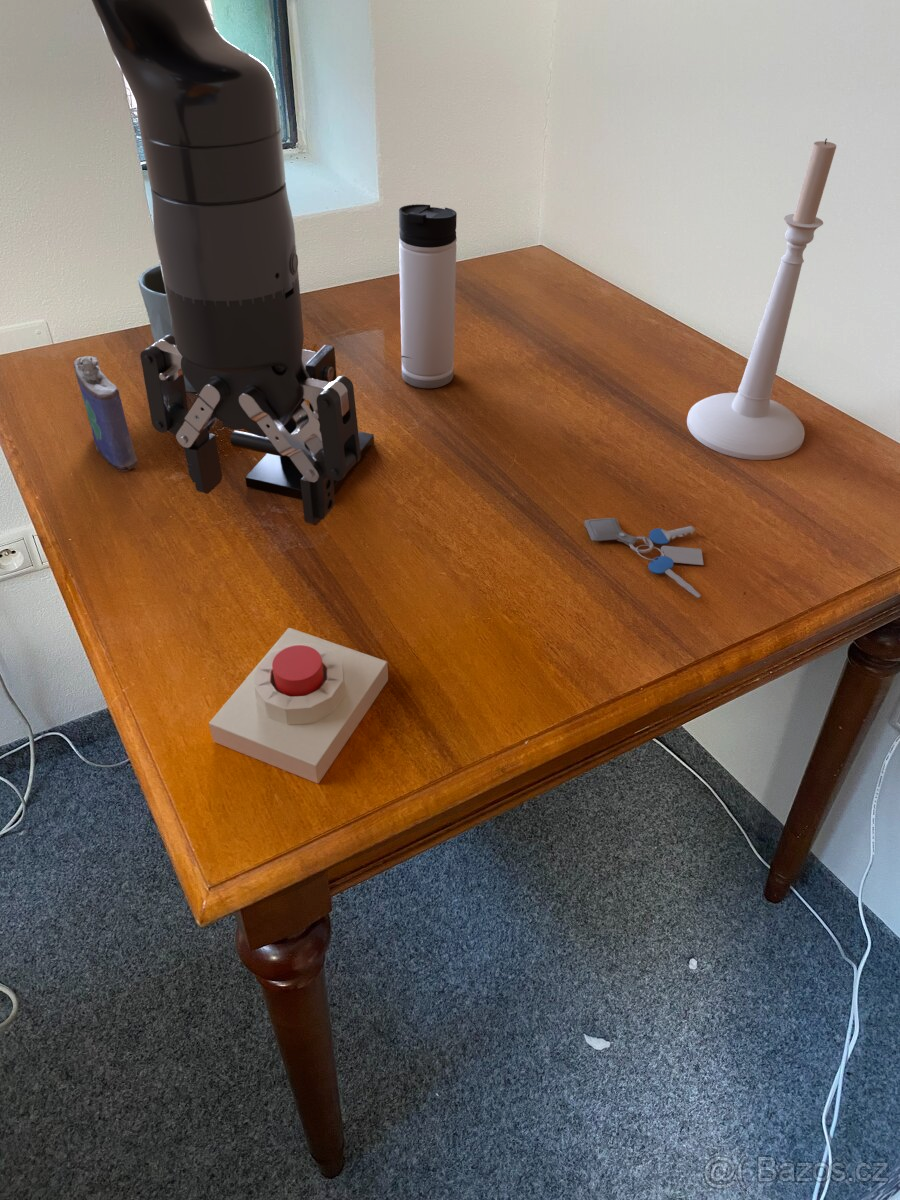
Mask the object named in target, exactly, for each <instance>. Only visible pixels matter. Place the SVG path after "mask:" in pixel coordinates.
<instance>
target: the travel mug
mask: <svg viewBox="0 0 900 1200" xmlns="http://www.w3.org/2000/svg"><path fill="white" fill-rule="evenodd" d="M457 217H458V216H457V211H456V210H454V209H452V208H448V207H444V208H441V207H436V206H435V207H433V206H431V204H423V203H422V204H417V203H415V204H407V205H403V206H401V207H399V209H398V228H399V234H398V242H399V244H398V259H399V261H398V262H399V263H398V264H399V301H400V302H399V303H400V304H399V305H400V306H399V307H400V310H399V311H400V349H401V350H400V352H401V354H400V355H401V356H400V357H401V378H402V379H403V381H404V383H407V384H408V385H409V386H412V387H415V388H418V389H438V388H442V387H444V386H447V385H448V384H450V382H452V380H453V378H454V375H455V371H454V369H455V366H454V365H455V363H454V362H455V328H456V327H455V325H456V324H455V323H456V281H457V241H458V240H457V231H456V230H457V221H458V219H457Z"/></svg>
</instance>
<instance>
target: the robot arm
mask: <svg viewBox="0 0 900 1200" xmlns="http://www.w3.org/2000/svg"><path fill="white" fill-rule="evenodd" d="M91 3H92V4H93V7H94V10H95V12H96V14H97V17H98V19H99V22H100V23H101V26H102V29H103V31H104V34H105V36H106V39H107V41H108V43H109V46H110V49H111V52H112V53H113V56H114V58H115V60H116V62H117V64H118V67H119V68H120V71H121V73H122V74H123V77H124V80H125V81H126V84H127V86H128V88H129V90H130V93H131V95H132V97H133V100H134V105H135V108H136V109H135V110H136V116H137V120H138V126H139V127H138V128H139V132H140V138H141V143H142V148H143V154H144V159H145V165H146V170H147V175H148V181H149V186H150V192H151V200H152V201H151V203H152V214H153V232H154V238H155V245H156V249H157V255H158V260H159V264H160V265H161V271H162V276H163V281H164V286H165V291H166V297H167V302H168V307H169V312H170V317H171V322H172V328H173V333H174V337H173V336H171V335H166V336H165V337H163V338H161V339H160V340H158V341H157V342H154V343H152V344H151V345H149V346H148V347H146V348H144V349H143V350H142V351H140V363H141V369H142V373H143V374H142V375H143V379H144V386H145V392H146V398H147V403H148V409H149V415H150V421H151V425H152V427H153V429H155V431H157V432H158V433H159V434H165V433H167V432H168V433H169V434H172V435H174V436H175V438H176V441H177V443H178V444H179V445H180V446H182V447H183V452H184V457H185V462H186V466H187V471H188V476H189V478H190V480H191V482H192V483H194V486H195V490H196V491H197V492H199V493H203V494H206V495H209V494H210V493H211V492H212V491H213V490H214V489H216V487H218V485H220V484H221V482H222V480H223V470H222V466H221V465H222V464H221V459H220V454H219V449H218V448H219V447H218V443H217V442H218V441H217V436H216V434H213V433H210V431H211V430H212V429H213V428H214V426H215V425H216V423H217V422H218V421H219V422H221V423H222V427H223V428H227V429H229V430H244V431H246V432H247V433H250V434H254V435H257V436H260V437H264V438H265V437H266V436H267V437H268V439H269V440H270V441H271V443H272V444H273V445H274V447H275V448H276V449H277V451H278V452H279V453H280V454H281V455H284V456H289V457H290V459H291V460H292V461H293V463H294V464H295V466H296V467H297V468H298V470H299V471H300V472H301V474H302V475H303V477H302V478H301V479H300V482H301V491H302V511H303V519H304V523H306V524H308V525H313V526H318V525H319V524H320V522H321V521H324V519H325V518H326V517H327V516H328V515H329V514H330V513H331V511H332V510H333V509H334V507H335V505H336V497H335V496H334V481H333V480H335V481H339V480H341V479H342V478H343V477H344V476H345V475H346V473H347V472H348V471H349V470H350V469H351V468H352V466H353V465H355V464H356V463H357V462H358V461H359V460H360V458H361V453H360V443H359V434H358V431H359V426H358V416H357V408H356V407H357V406H356V398H355V389H354V383H353V382H352V380H351V379H350V378H349V377H347V376H345V375H340V376H337V379H336V380H335V381H333V382H327V381H322V380H316V379H310V377H309V375H308V373H307V371H306V369H305V367H304V365H303V362H302V349H303V347H304V342H305V341H304V339H305V334H304V333H305V332H304V323H303V311H302V310H303V309H302V302H301V288H300V278H299V257H298V253H297V243H296V241H297V240H296V232H295V224H294V219H293V215H292V209H291V205H290V200H289V196H288V189H287V182H286V171H285V160H284V158H285V157H284V149H283V139H282V137H283V136H282V129H281V119H280V109H279V100H278V95H277V90H276V85H275V81H274V78H273V76H272V74H271V72H270V71H269V69H268V67H267V66H266V65H265V64H264V63H263V62H261V61H260V59H258V58H256V57H255V56H253V55H251V54H250V53H247V52H246V51H244V50H242V49H240V48H239V47H237V46H235V45H233V44H231V43H230V42H229V41H227V40H226V39H225V38H224V36H222V35H221V34H220V33H219V31H218V30H217V28H216V26H215V24H214V21H213V19H212V17H211V14H210V12H209V9H208V6H207V4H206V1H205V0H91ZM303 350H304V349H303ZM184 376H185V377H186V379H187V380H188V381H189V383H190V384H191V385H192V387H193V388H194V389H195V391H196V392H195V393H196V394H197V395H198V397H197V398H196V400H195V402H194V403H193V404H192V406H191V408H190V409H189V404H188V396H187V392H186V388H185V381H184ZM306 401H307V402H308V403H309V402H310V404H311V405H312V407H313V410H314V412H312V411H311V409H310V406H309V405H308V403H307V402H306ZM291 417H293V418H294V420H295V421H296V425H297V427H296V429H295V430H294V431H293V432H292V433H291V434H290V433H289V432H288V431H287V430H286V429H285V427H284V425H285V424H286V423H288V421H289V420H290V419H291ZM318 419H319V421H318ZM320 430H321V432H320ZM304 443H306V445H307V446H308V447H309V449H310V450H311V451H312V453H313V454H314V456H313V457H312V456H311V454H310V453H309V452H308V450H307V449H306V447H305V445H304Z"/></svg>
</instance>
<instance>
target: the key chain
mask: <svg viewBox="0 0 900 1200" xmlns="http://www.w3.org/2000/svg"><path fill="white" fill-rule="evenodd" d="M583 524H584V526H585V529H586V531H587V533H588V535H589V538H590V540H591V541H592V542H605V541H617V542H621V543H623V544H624V545H627V546H628V547H630V550H632V551H633V552H636V553H637V555H638V556H640V557H641V558H643V559H645V560H648V561H650V562H649V563H648V570H649V571H650V573H652V574H655V575H662V574H666V575H667V576H668V577H669V578H671V579H672V580H674V581H675V582H676V583H677V584H678V585H679V586H680V587H682V588H683V589H685V590H686V591H687V592H688V593H690V594H692V596H693V597H695V598H697V599H699V598H701V597H702V595H701V594H700V593H699V592H698V591H697V590H696V589H695V588H694V587H693V586H692V584H690V583H687V581H685V580H684V579H683V578H682V577H681V576H680V575H679V574H677V573H675V572H674V571H673V570H672V569H673V567H674V566H675V565H674V563H675V564H683V565H684V564H685V565H694V566H695V565H696V566H705V565H704V558H703V551H702V548H694V547H682V546H672V545H667V544H669V543H670V542H671V541H670V540H675V539H676V538H677V537H678V538H684V536H687V535H688V534H690V535H693V534H694V533H695V527H694V526H692V525H689V526H685V527H680V528H676V529H671V530H666V529H663V528H661V527H658V528H657V527H656V528H654V529H652V530H650V532H649V533H648V536H634V535H631V534H628V533H626V532H625V531H623V530H622V528H621V526H620V523H619V522H618V519H617V518H616V517H604V518H590V519H585V520H584V521H583ZM638 541H643V542H644V544H640V545H638V546H636V547H635V546H634V545H635V544H636V543H637V542H638ZM654 544H656V545H659V546H661V547H660V548H658V547H656V546H654ZM640 547H648V548H646V549H640ZM653 549H655V550H657V551H659V552H660V556H656V557H654V558H649V557H647V556H643V555H642V554H648V553H650V552H651V551H652V550H653Z"/></svg>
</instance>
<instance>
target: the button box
mask: <svg viewBox="0 0 900 1200" xmlns="http://www.w3.org/2000/svg"><path fill="white" fill-rule="evenodd" d="M295 645H304V646H309V647H311V648H313V649H315V650H316V651H317V652H318V653H319V654H320V655H321V658H322V665H323V673H324V679H323V682H322V684H321V686H320V687H319V688H318V689H317V690H316V691H314V692H313V693H311V694H309V695H306V696H295V697H293V696H288V695H286V694H283V693H282V692H281V691H279V690H278V688H277V687H276V685H275V680H274V674H273V668H272V663H273V660H274V658H275V656H276V655H277V654H278V653H279V652H280V651H282V650H283V649H285V648H287V647H290V646H295ZM388 665H389V664H388V661H387V660H384V659H381V658H378V657H375V656H373V655H370V654H367V653H364V652H361V651H358V650H356V649H352V648H349V647H347V646H344V645H342V644H338V643H336V642H332V641H329V640H326V639H323V638H320V637H318V636H315V635H311V634H309V633H307V632H303V631H300V630H297V629H295V628H291V627H288V628H287V629H286V630H285V631H284V633H283V634H281V636H280V637H279V639H277V641H276V642H275V643H274V644H273V645H272V647H271V648H270V649H269V650H268V652H267V653H266V654H265V655H264V657H262V659H261V660H260V661H259V662H258V663H257V665H256V666H255V667H254V668H253V669H252V671H251V672H250V673H249V674H248V675H247V676H246V678H245V679H244V680H243V682H241V683H240V685H239V686H238V687H237V688H236V690H235V691H234V692H233V693H232V695H231V696H230V697H229V698H228V699H227V700H226V701H225V703H224V704H223V705H222V706H221V708H220V709H218V711H217V712H216V714H215V715H213V717H212V719H211V720H210V721H209V722H208V726H209V730H210V734H211V737H212V741H213V743H215V744H218V745H221V746H222V747H226V748H228V749H230V750H233V751H236V752H238V753H240V754H242V755H246V756H248V757H250V758H253V759H255V760H258V761H260V762H263V763H265V764H268V765H270V766H273V767H275V768H278V769H280V770H282V771H285V772H288V773H290V774H292V775H295V776H298V777H301V778H303V779H305V780H308V781H310V782H313V783H315V784H320V782H321V781H322V779H323V778H324V776H325V775H326V773H327V772H328V770H329V769H330V768H331V766H332V765H333V763H334V761H335V760H336V758H337V757H338V756H339V754H340V753H341V751H342V749H343V748H344V746H345V745H346V744H347V742H348V741H349V740H350V738H351V736H352V735H353V733H354V732H355V730H356V729H357V728H358V726H359V724H360V723H361V722H362V720H363V718H364V717H365V716H366V714H367V713H368V712H369V710H370V708H371V706H373V704H374V702H375V700H376V699H377V697H379V695H380V693H381V691H382V690H383V689H384V687H385V685H386V684H387V683H388V681H389V667H388Z"/></svg>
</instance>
